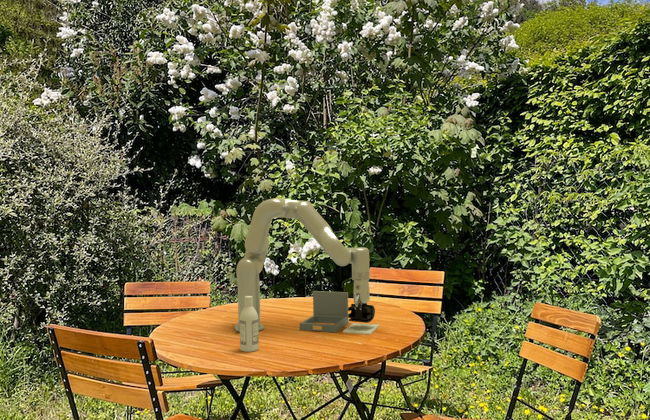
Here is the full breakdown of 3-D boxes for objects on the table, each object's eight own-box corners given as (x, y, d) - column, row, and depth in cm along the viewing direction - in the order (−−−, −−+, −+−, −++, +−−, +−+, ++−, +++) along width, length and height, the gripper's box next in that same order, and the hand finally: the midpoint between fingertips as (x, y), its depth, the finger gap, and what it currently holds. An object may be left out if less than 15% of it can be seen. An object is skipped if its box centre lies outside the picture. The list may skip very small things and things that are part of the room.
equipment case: (335, 332, 228) (335, 299, 228) (299, 330, 234) (298, 298, 233) (348, 323, 247) (347, 292, 246) (314, 321, 252) (313, 291, 252)
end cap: (375, 319, 235) (375, 304, 235) (368, 323, 229) (368, 307, 229) (354, 317, 240) (353, 302, 240) (347, 321, 233) (347, 305, 233)
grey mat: (370, 334, 225) (370, 333, 225) (342, 332, 229) (342, 331, 229) (379, 326, 240) (379, 324, 240) (353, 324, 244) (353, 323, 244)
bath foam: (258, 346, 208) (258, 294, 207) (258, 351, 201) (257, 297, 201) (240, 347, 207) (239, 295, 207) (239, 352, 200) (238, 298, 200)
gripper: (364, 279, 225) (364, 321, 225) (374, 273, 241) (374, 313, 241) (346, 278, 227) (347, 320, 227) (357, 273, 244) (358, 312, 244)
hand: (361, 316), depth 234 cm, fingers closed on end cap, 7 cm apart
